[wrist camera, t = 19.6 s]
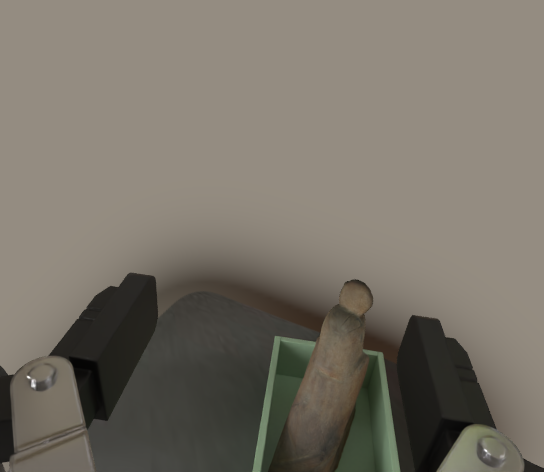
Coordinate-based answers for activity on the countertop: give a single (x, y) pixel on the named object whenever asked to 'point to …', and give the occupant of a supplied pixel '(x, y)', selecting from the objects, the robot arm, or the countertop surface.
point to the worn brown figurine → (327, 389)
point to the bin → (365, 426)
